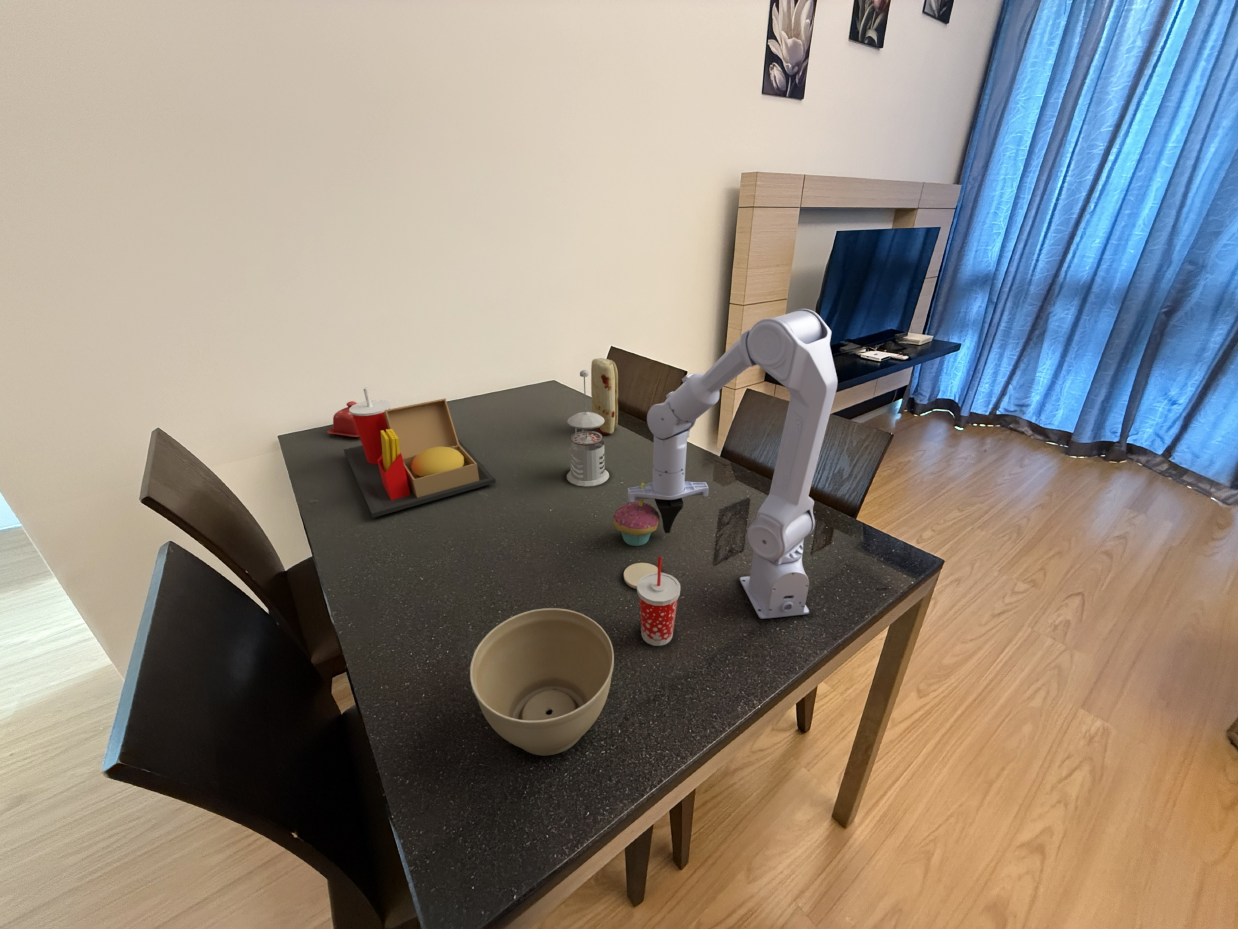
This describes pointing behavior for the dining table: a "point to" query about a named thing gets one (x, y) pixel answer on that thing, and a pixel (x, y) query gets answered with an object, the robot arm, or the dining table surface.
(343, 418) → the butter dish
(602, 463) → the french press
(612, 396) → the food model
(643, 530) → the cupcake
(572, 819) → the dining table surface
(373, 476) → the fast food meal
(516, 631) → the planter bowl
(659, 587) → the beverage cup
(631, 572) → the coaster
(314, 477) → the dining table surface
